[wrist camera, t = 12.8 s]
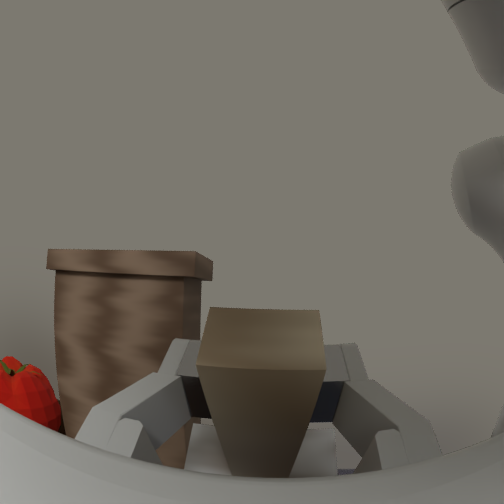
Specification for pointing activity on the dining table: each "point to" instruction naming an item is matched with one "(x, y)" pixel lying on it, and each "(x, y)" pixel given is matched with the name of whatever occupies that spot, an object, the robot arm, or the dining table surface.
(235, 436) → the mallet
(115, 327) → the walnut stand
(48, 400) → the tomato
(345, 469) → the dining table surface
